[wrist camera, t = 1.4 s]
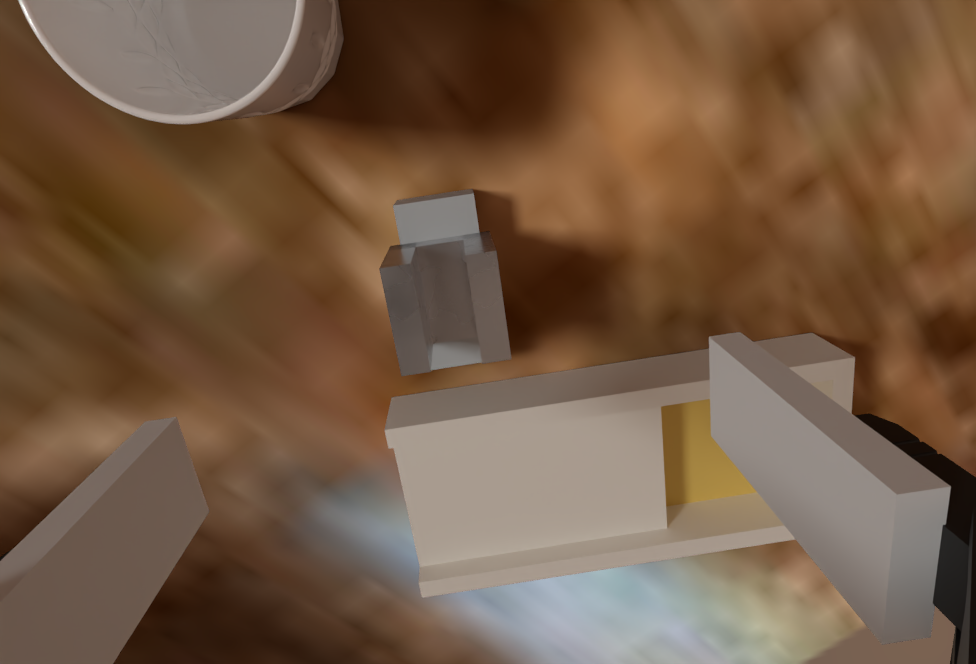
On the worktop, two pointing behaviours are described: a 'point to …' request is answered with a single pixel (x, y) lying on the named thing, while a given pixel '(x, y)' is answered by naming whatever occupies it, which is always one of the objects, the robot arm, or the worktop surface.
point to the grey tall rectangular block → (435, 222)
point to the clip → (444, 298)
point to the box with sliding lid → (583, 468)
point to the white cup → (193, 53)
